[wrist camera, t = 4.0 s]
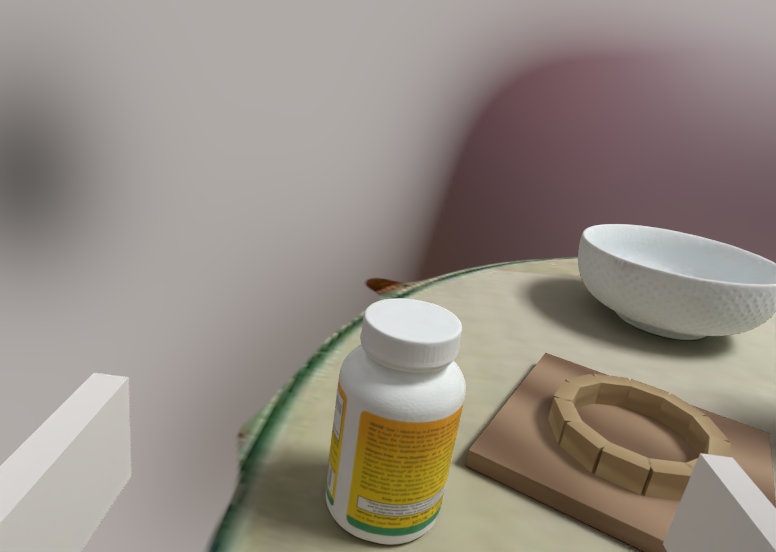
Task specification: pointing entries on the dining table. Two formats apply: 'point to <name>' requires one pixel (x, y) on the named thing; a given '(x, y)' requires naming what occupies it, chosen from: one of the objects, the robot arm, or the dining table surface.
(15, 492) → the robot arm
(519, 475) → the collar stand
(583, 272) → the cereal bowl
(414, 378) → the supplement bottle
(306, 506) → the dining table surface
